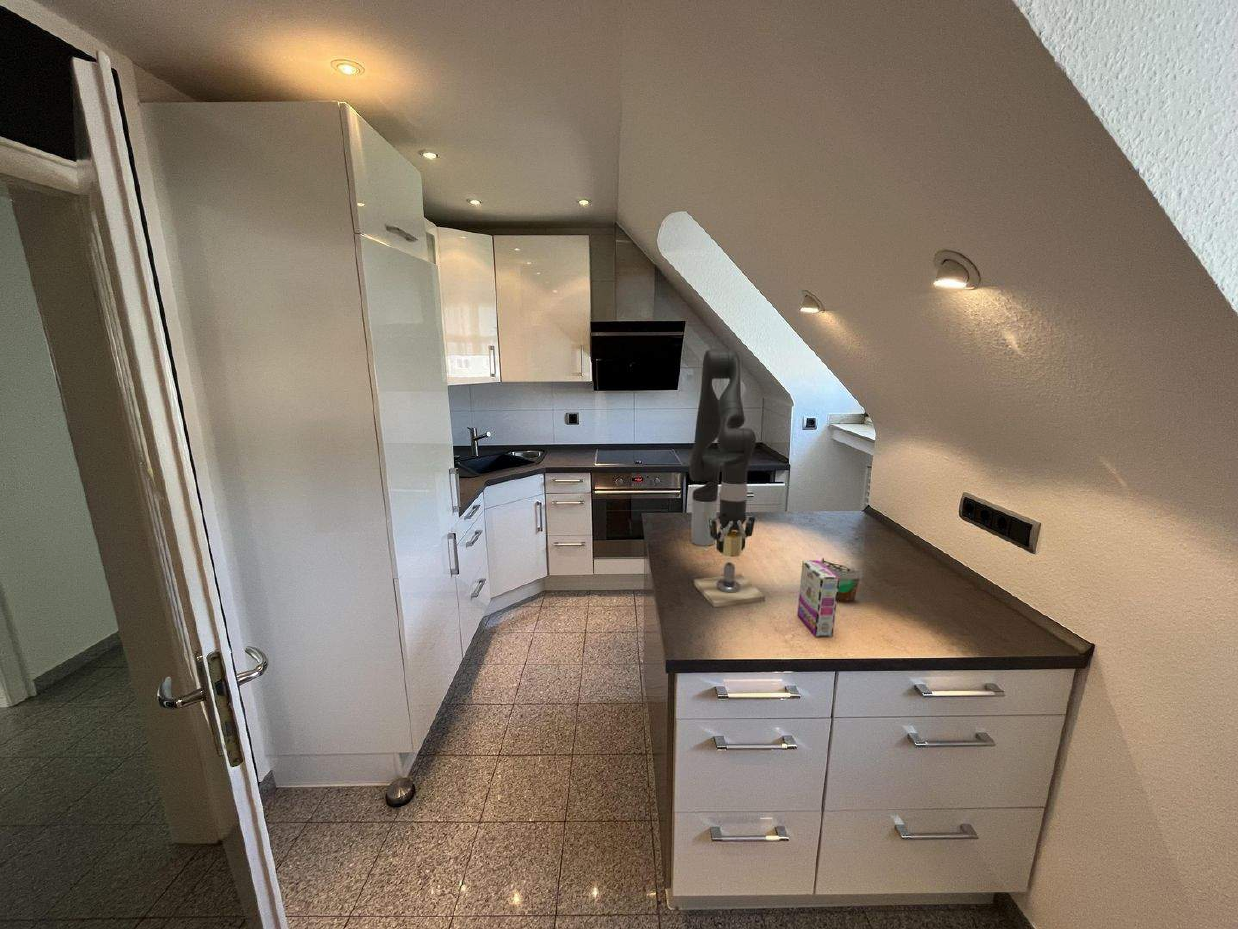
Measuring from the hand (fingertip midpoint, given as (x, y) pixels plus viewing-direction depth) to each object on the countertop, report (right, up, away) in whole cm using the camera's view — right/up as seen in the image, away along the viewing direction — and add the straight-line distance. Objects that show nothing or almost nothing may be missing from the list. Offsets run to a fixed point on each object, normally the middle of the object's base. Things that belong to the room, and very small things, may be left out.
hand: (730, 550), depth 144 cm
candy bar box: (+19, -18, -15) cm, 30 cm away
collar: (0, -1, 0) cm, 1 cm away
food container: (+31, -14, 0) cm, 34 cm away
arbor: (0, -12, +3) cm, 12 cm away
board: (0, -13, +3) cm, 13 cm away
